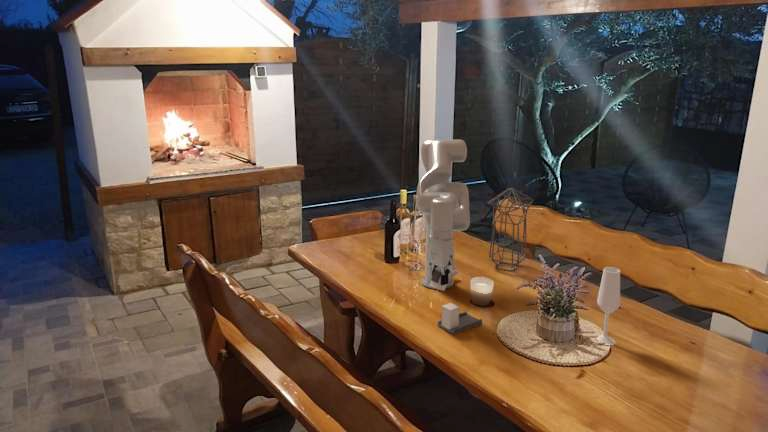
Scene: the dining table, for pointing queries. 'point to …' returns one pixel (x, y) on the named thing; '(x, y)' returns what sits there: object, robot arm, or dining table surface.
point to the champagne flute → (609, 298)
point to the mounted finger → (450, 316)
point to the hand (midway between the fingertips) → (440, 281)
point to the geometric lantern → (509, 223)
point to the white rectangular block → (438, 279)
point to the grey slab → (462, 323)
